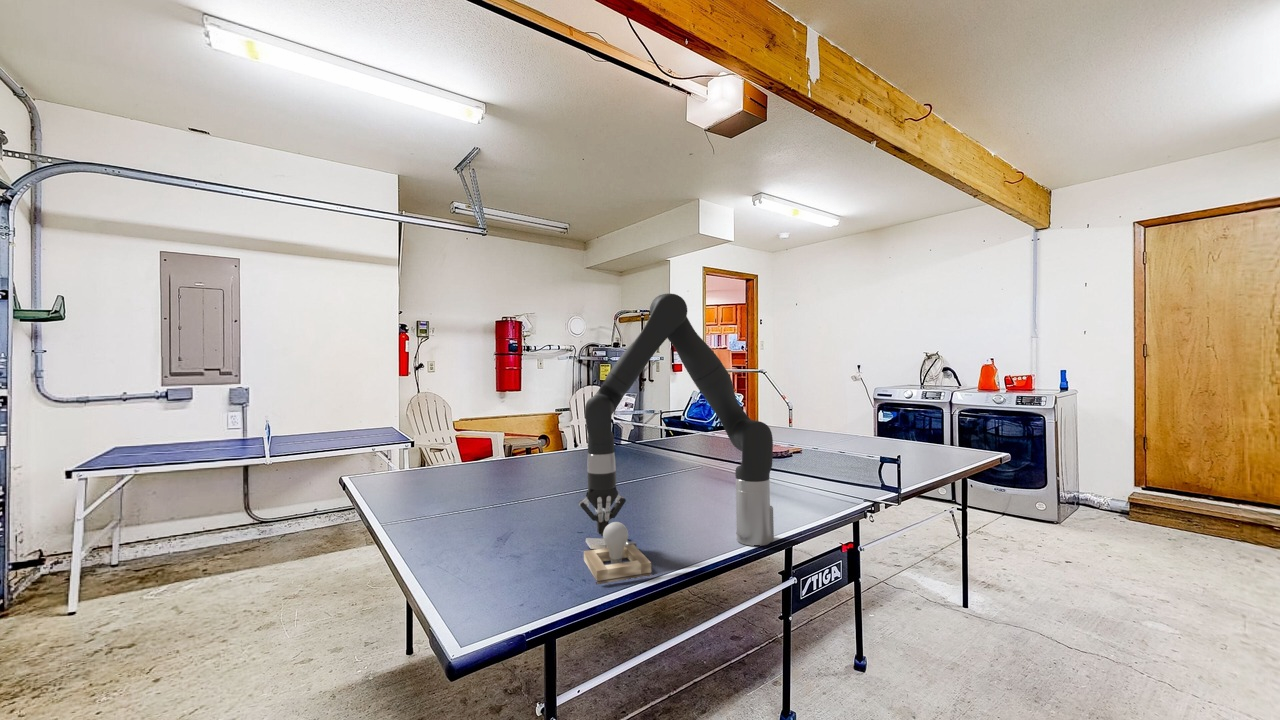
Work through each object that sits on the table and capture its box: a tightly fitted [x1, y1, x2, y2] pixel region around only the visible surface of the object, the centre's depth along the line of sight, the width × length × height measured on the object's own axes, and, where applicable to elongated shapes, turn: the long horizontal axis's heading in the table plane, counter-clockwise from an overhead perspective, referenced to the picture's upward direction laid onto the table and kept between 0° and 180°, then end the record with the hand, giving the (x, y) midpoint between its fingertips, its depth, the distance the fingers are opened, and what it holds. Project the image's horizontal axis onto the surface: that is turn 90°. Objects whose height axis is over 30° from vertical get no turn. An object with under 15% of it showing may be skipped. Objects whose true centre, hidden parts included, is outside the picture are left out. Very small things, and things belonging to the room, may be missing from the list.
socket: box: [583, 544, 652, 585], centre depth 119 cm, size 13×13×3 cm
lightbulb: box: [602, 521, 629, 564], centre depth 120 cm, size 6×6×11 cm
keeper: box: [585, 537, 630, 550], centre depth 132 cm, size 12×6×1 cm, turn 109°
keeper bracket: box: [627, 538, 637, 547], centre depth 134 cm, size 2×9×2 cm, turn 19°
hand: (603, 534), depth 132 cm, fingers closed
